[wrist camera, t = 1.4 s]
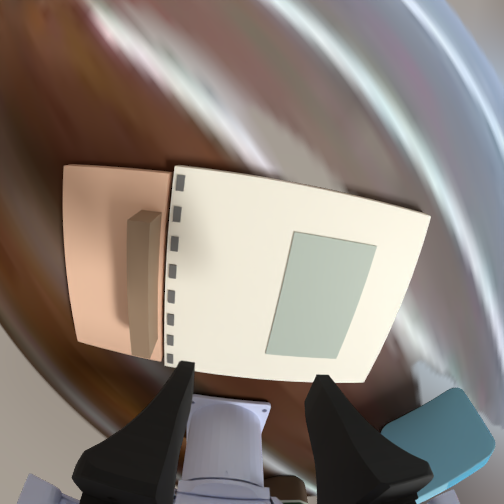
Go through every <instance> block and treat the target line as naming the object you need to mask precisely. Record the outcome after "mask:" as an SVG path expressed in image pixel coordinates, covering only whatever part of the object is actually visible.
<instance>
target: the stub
mask: <svg viewBox="0 0 504 504" xmlns="http://www.w3.org/2000/svg"><path fill="white" fill-rule="evenodd" d="M172 173H173V172H167V171H157V170H147V169H136V168H124V167H111V166H96V165H77V164H70V165H65V166H64V171H63V232H64V248H65V261H66V271H67V280H68V288H69V295H70V302H71V308H72V314H73V320H74V325H75V330H76V335H77V340H78V341H79V342H82V343H86V344H89V345H93V346H96V347H100V348H104V349H108V350H112V351H116V352H120V353H124V354H128V355H132V356H137V357H141V358H146V359H151V360H156V361H161V360H162V357H163V305H164V273H165V253H166V238H167V224H168V212H169V201H170V192H171V182H172Z"/></svg>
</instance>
